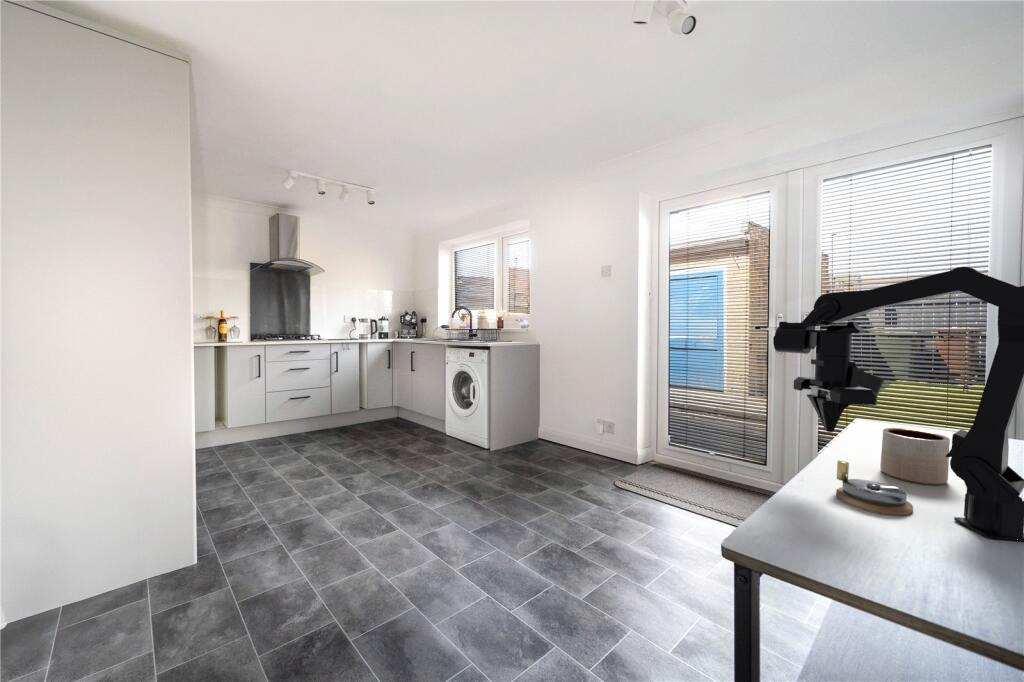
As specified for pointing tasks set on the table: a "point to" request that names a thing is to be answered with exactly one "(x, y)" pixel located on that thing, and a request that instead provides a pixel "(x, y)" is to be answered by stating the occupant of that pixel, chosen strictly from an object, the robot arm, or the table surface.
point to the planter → (915, 456)
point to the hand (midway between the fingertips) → (829, 431)
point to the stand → (875, 505)
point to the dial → (869, 489)
